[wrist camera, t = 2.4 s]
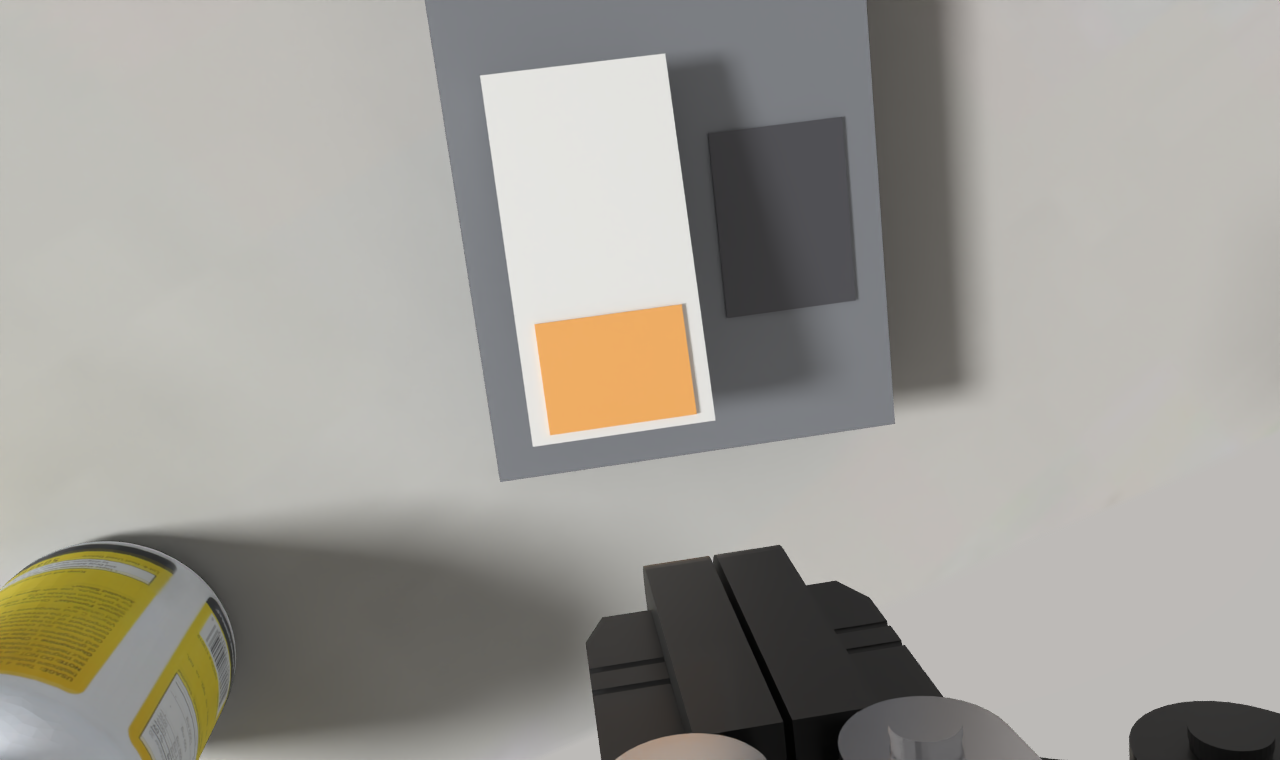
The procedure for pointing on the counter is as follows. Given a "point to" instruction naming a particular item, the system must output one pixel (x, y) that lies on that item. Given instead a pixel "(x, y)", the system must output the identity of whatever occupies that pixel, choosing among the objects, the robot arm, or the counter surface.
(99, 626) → the pill bottle
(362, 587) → the counter surface
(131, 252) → the counter surface
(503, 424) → the power strip
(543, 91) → the rocker outer
